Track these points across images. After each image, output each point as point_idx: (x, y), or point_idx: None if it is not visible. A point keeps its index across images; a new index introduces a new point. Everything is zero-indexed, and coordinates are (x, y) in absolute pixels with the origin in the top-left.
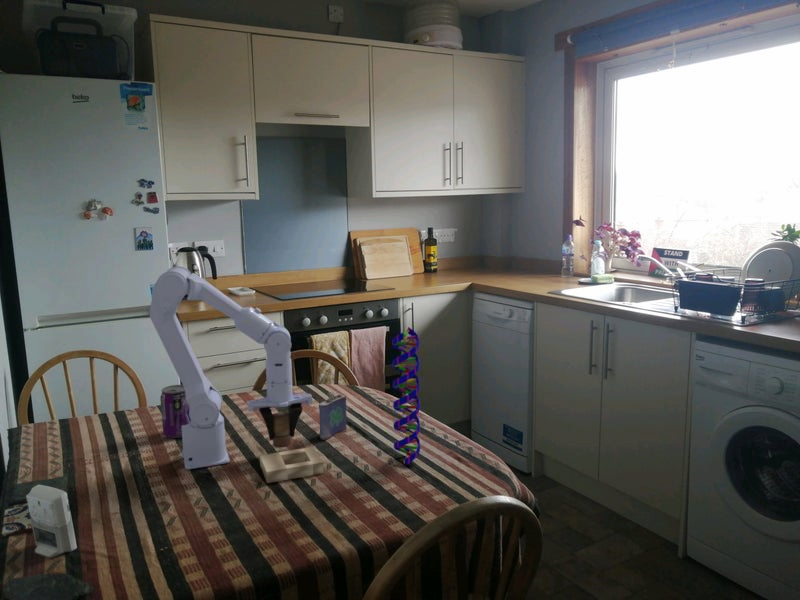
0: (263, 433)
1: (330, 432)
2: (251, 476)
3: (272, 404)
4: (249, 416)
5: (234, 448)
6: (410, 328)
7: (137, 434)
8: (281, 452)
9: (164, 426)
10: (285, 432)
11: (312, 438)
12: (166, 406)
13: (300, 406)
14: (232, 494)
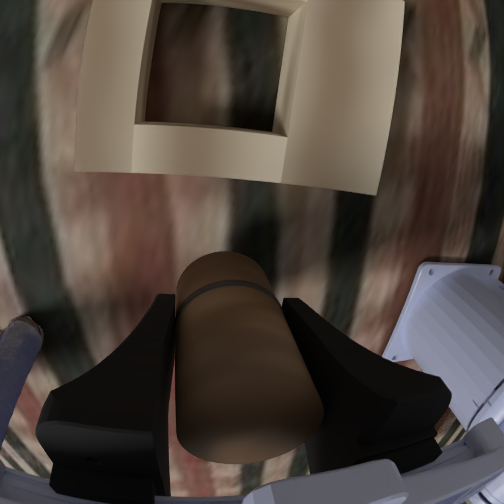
0: None
1: (1, 338)
2: (407, 107)
3: (421, 489)
4: (234, 491)
5: None
6: None
7: (438, 439)
8: (269, 172)
9: None
10: (219, 300)
11: (72, 349)
12: None
13: (59, 460)
14: (475, 31)
